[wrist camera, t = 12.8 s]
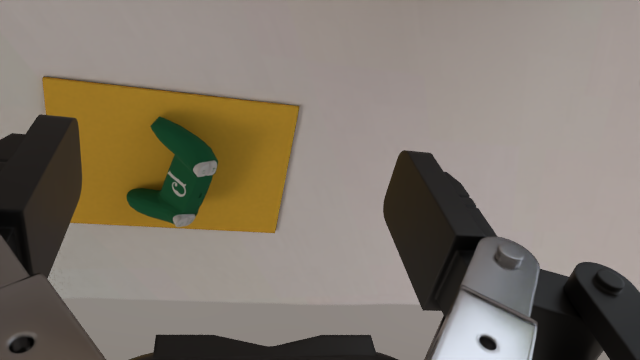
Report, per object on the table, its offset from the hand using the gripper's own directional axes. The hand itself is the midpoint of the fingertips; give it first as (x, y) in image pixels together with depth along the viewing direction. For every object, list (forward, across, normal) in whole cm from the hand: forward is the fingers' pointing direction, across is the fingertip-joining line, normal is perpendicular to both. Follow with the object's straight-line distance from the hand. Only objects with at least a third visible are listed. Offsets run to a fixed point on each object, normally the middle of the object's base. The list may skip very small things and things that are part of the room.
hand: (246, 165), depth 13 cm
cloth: (+28, +3, +18) cm, 33 cm away
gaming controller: (+28, +3, +18) cm, 33 cm away
